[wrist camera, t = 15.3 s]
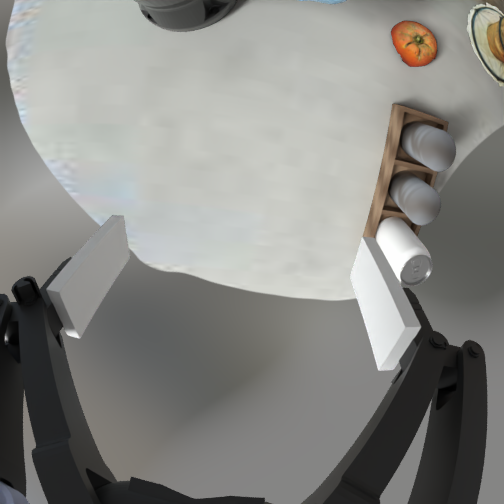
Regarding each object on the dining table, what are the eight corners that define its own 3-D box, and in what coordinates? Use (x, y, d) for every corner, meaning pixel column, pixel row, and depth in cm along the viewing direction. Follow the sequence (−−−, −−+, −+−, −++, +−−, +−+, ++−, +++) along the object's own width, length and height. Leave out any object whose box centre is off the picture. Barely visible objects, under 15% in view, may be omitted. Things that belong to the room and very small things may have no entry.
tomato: (404, 7, 25) (441, 27, 22) (417, 31, 30) (449, 52, 27) (376, 36, 30) (412, 58, 27) (391, 58, 35) (423, 80, 32)
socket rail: (392, 103, 36) (419, 109, 28) (439, 119, 36) (469, 129, 28) (359, 248, 50) (372, 278, 42) (401, 253, 50) (419, 282, 42)
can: (405, 212, 44) (436, 248, 34) (406, 242, 48) (433, 282, 37) (372, 219, 46) (397, 258, 35) (375, 250, 49) (397, 293, 39)
